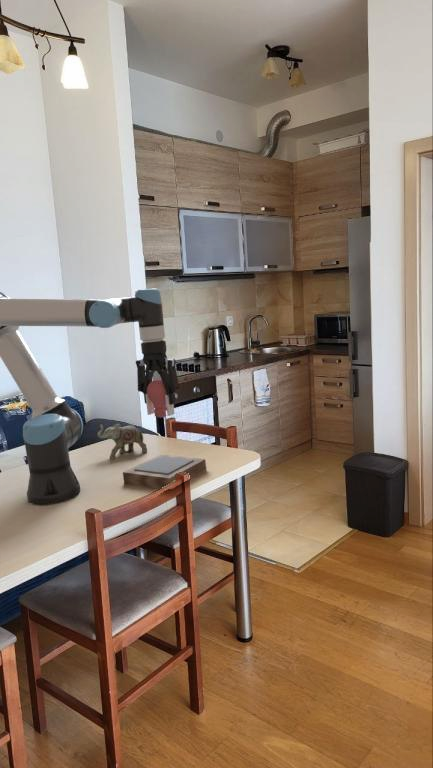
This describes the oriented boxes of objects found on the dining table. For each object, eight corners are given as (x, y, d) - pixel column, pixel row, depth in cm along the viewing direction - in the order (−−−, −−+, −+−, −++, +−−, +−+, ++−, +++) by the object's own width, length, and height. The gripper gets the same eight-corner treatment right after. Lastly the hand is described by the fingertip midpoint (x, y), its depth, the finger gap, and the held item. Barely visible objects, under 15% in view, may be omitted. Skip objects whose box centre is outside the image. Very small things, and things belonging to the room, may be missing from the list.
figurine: (113, 461, 211) (99, 422, 210) (150, 449, 210) (136, 410, 209) (107, 467, 202) (92, 427, 200) (145, 454, 200) (131, 414, 199)
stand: (124, 483, 174) (122, 470, 173) (161, 465, 188) (160, 453, 188) (170, 490, 164) (169, 476, 163) (206, 470, 178) (205, 457, 178)
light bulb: (174, 414, 181) (170, 376, 179) (171, 419, 174) (167, 380, 172) (152, 415, 182) (148, 378, 179) (148, 420, 175) (143, 382, 172)
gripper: (187, 337, 171) (194, 412, 175) (135, 339, 182) (143, 410, 186) (172, 341, 165) (180, 418, 169) (119, 342, 176) (128, 415, 180)
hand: (161, 414), depth 178 cm, fingers closed on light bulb, 7 cm apart
